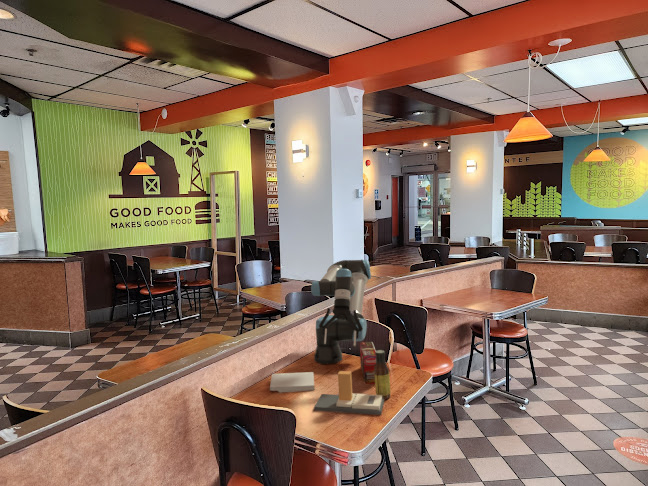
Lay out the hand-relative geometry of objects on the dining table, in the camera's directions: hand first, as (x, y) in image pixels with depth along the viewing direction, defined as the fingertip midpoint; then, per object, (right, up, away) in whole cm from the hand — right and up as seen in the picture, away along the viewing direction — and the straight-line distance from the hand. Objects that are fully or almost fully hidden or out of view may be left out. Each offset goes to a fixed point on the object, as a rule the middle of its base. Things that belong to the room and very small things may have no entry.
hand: (339, 344), depth 197 cm
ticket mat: (+3, -21, -20) cm, 29 cm away
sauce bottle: (+18, -19, -13) cm, 30 cm away
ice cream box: (+15, -18, +10) cm, 25 cm away
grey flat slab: (-22, -21, +4) cm, 30 cm away
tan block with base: (+2, -19, -20) cm, 27 cm away
